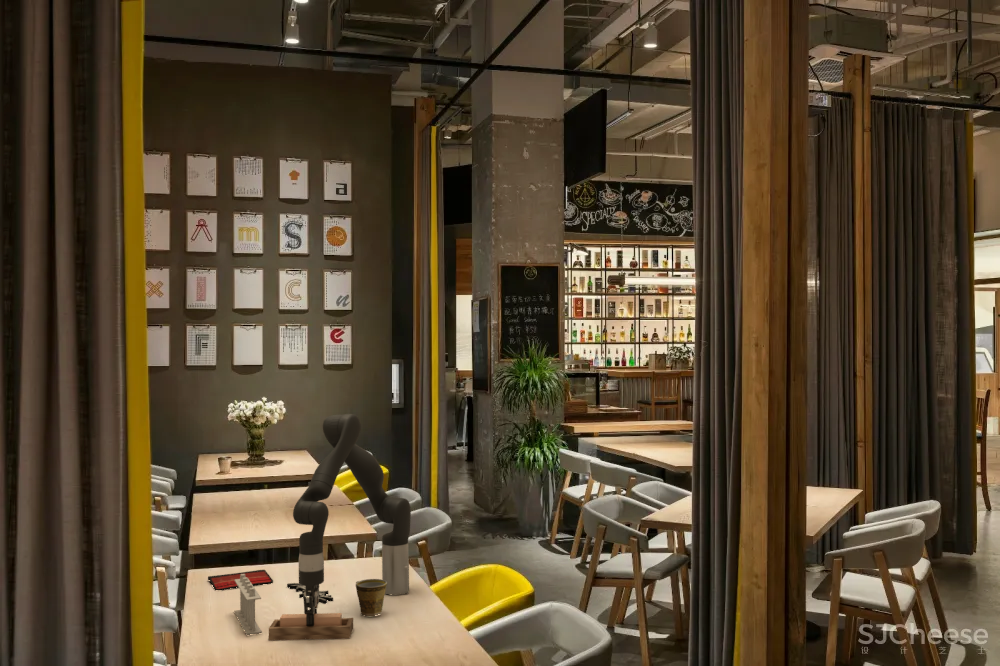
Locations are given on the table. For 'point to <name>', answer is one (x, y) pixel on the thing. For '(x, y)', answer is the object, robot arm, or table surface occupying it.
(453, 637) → the table surface
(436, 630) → the table surface
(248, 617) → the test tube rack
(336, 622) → the clay strip
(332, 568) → the table surface
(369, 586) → the ceramic cup
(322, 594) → the dark angular piece
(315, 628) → the shallow wooden tray
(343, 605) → the table surface
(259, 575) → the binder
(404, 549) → the robot arm
